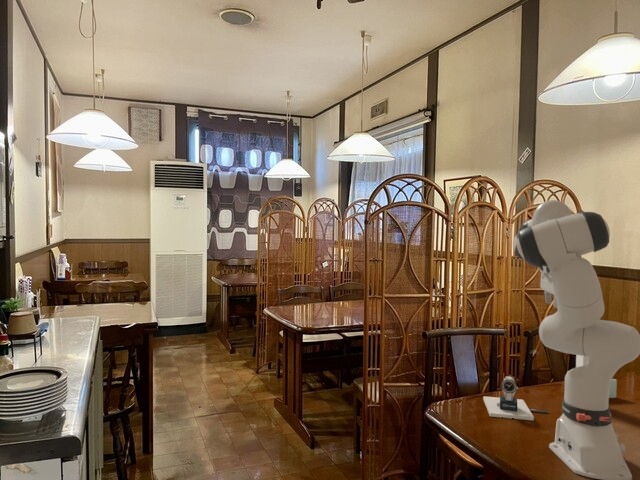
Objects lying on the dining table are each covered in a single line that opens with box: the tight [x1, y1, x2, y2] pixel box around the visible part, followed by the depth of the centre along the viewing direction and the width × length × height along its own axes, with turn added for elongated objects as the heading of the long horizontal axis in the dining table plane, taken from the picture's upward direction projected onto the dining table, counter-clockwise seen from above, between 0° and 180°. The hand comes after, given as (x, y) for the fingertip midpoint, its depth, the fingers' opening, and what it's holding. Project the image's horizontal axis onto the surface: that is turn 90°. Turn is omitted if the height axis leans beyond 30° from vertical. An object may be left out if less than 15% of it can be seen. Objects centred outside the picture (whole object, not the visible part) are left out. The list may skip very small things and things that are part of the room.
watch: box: [499, 376, 519, 412], centre depth 160 cm, size 6×8×11 cm
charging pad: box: [482, 396, 550, 421], centre depth 161 cm, size 16×21×1 cm
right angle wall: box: [566, 370, 618, 399], centre depth 180 cm, size 12×12×8 cm
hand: (552, 305), depth 164 cm, fingers open, 8 cm apart
